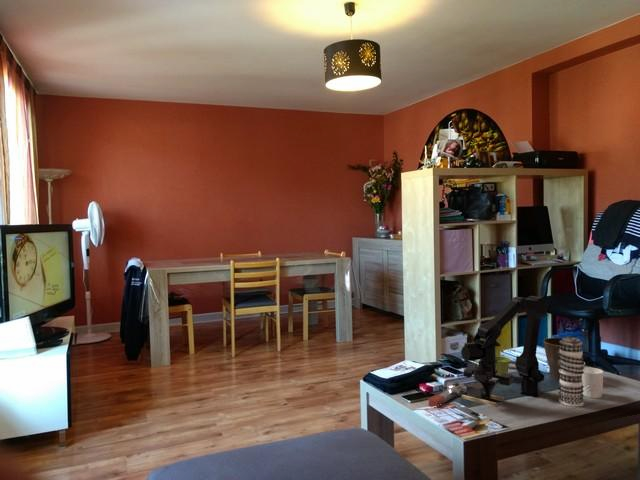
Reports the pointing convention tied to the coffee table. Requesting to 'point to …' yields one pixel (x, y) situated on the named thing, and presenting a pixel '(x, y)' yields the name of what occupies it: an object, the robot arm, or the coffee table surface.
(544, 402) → the coffee table surface
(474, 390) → the socket
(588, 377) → the white cup
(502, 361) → the plant pot
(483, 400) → the guide rails
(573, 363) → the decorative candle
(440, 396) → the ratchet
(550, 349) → the plant pot
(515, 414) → the coffee table surface
